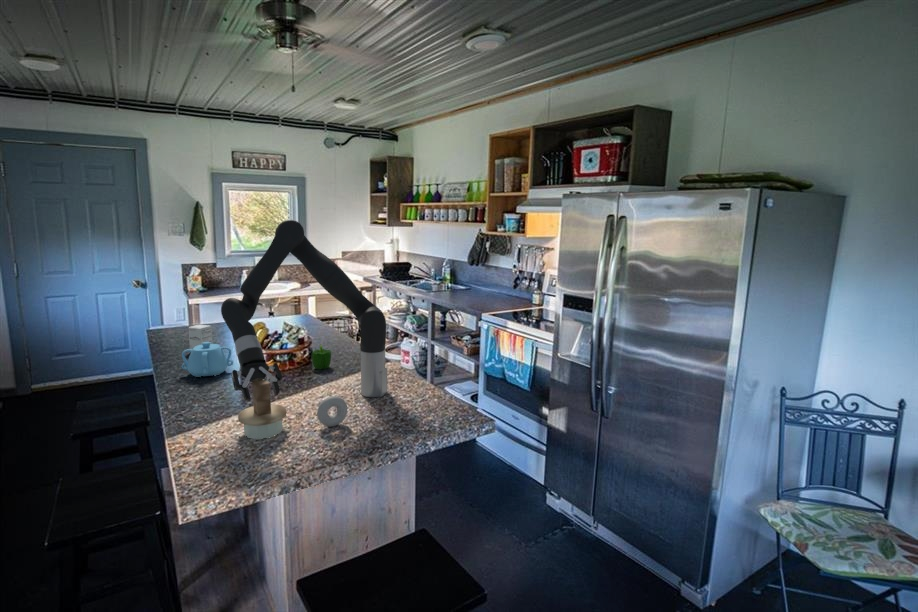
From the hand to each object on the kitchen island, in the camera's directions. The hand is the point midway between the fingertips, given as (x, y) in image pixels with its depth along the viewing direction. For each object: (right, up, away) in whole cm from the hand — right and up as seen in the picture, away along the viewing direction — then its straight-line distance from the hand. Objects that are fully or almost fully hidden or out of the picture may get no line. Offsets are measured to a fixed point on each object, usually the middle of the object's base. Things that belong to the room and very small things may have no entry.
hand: (263, 397), depth 155 cm
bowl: (-1, -11, +3) cm, 12 cm away
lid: (-1, -6, +2) cm, 7 cm away
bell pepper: (0, 0, +67) cm, 67 cm away
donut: (+19, -11, +8) cm, 24 cm away
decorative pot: (-45, -1, +57) cm, 73 cm away
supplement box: (-64, +6, +89) cm, 110 cm away
